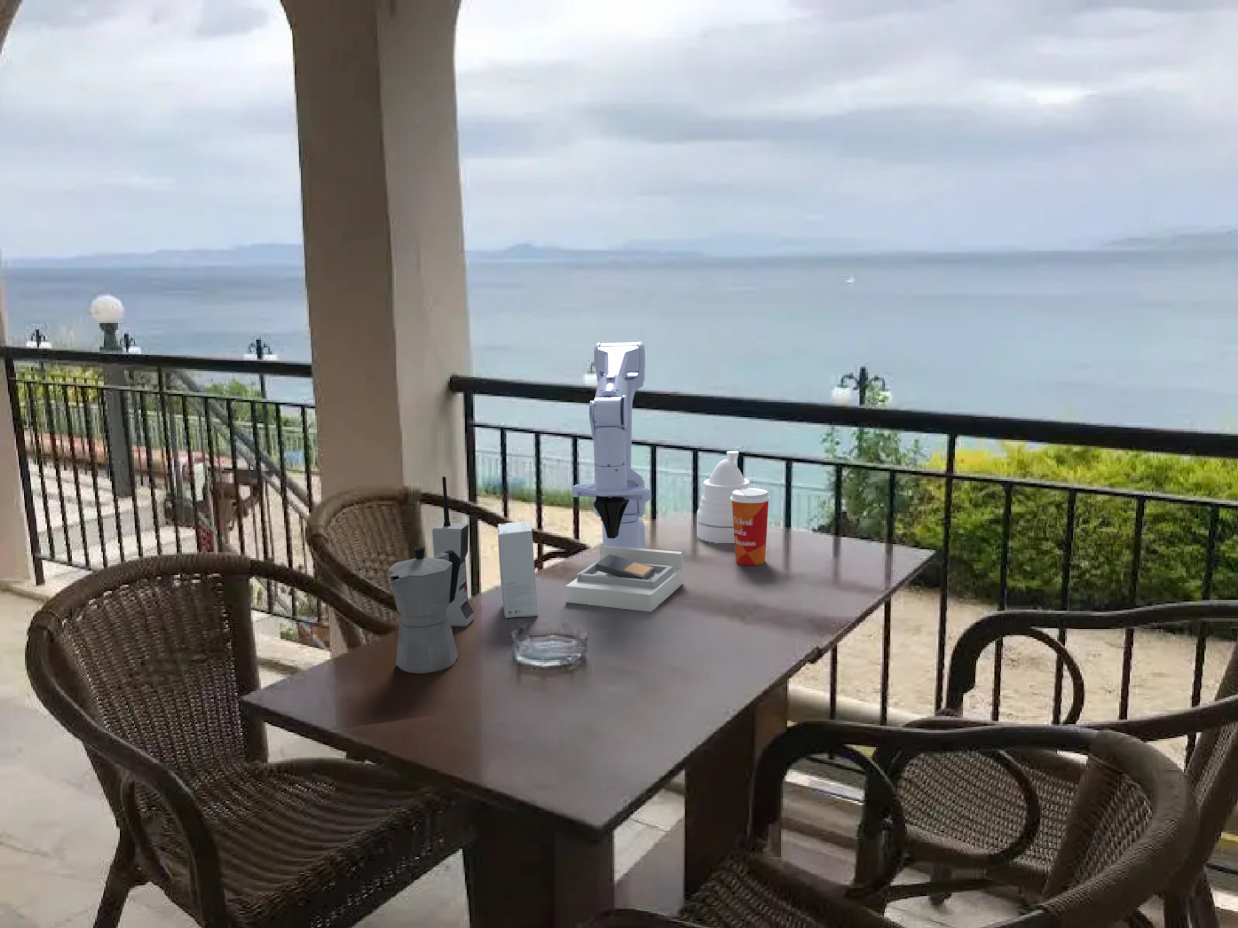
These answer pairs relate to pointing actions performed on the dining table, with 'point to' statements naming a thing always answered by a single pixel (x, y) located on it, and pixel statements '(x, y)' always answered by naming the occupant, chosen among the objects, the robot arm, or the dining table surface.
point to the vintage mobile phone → (457, 540)
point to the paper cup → (750, 525)
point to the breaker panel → (628, 581)
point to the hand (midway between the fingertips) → (612, 537)
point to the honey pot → (720, 501)
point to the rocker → (624, 568)
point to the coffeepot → (425, 610)
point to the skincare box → (517, 569)
